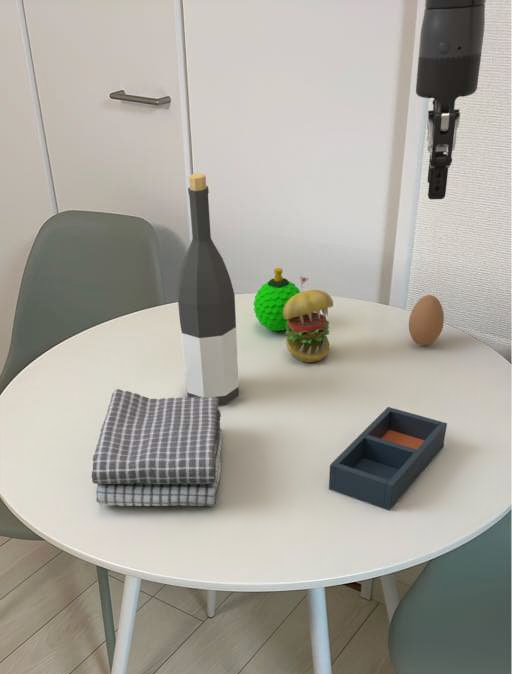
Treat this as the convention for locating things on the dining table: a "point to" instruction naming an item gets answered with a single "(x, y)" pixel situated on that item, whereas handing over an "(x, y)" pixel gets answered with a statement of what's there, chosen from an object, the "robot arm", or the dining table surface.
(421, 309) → the egg
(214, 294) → the wine bottle
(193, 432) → the towel
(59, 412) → the dining table surface
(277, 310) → the ornament
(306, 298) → the hamburger
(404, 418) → the divided tray
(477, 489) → the dining table surface
